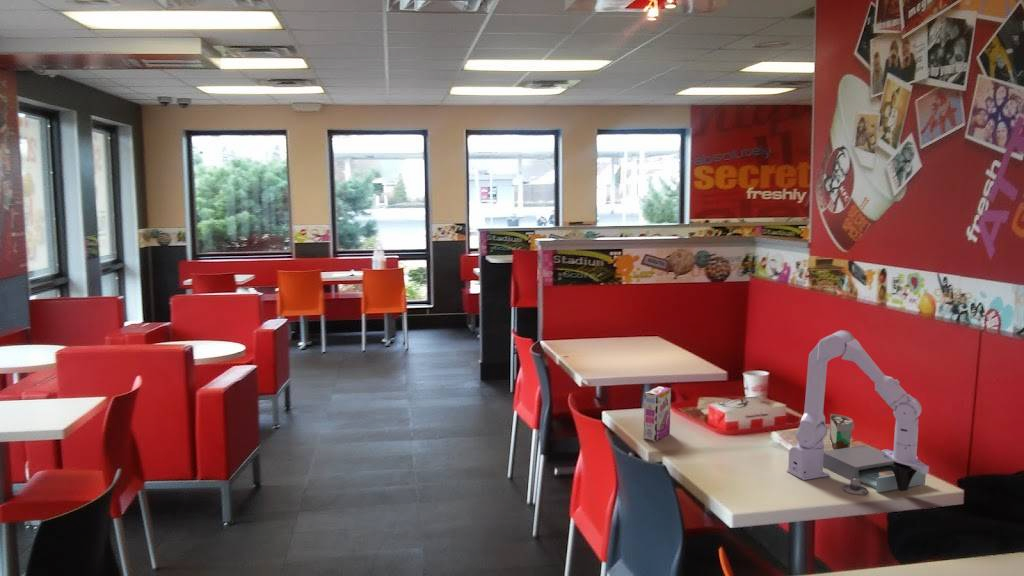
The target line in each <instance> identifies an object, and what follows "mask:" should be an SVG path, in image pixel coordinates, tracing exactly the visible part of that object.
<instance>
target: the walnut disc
mask: <svg viewBox="0 0 1024 576" xmlns="http://www.w3.org/2000/svg"><path fill="white" fill-rule="evenodd" d="M892 474H894V473H893V472H891V471H880V472H879V477H881V476H887V475H892Z"/></svg>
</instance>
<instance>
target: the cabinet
mask: <svg viewBox="0 0 1024 576" xmlns="http://www.w3.org/2000/svg"><path fill="white" fill-rule="evenodd" d="M881 454H882V450H879V449H876V448H874V447H872V446H869V445H867V444H862V445H856V446H850V447H849V448H842V449H836V450H833V449H831V450H826V451H825V450H824V459H823V468H825V469H827V470H829V471H831V472H833V473H836V474H837V475H839V476H842V477H844V478H846V479H848V480H850V481H851V477H858V472H859V471H860V470H865V469H871V468H877V467H883V466H885V467H888V468H890V469H891V467H890V464H893V463H894V461H893V460H891V459H889V458H886V457H885V458H884V457H882V456H881Z"/></svg>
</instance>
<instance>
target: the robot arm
mask: <svg viewBox="0 0 1024 576" xmlns="http://www.w3.org/2000/svg"><path fill="white" fill-rule="evenodd" d="M841 355H842V357H841ZM837 357H841V360H844V361H850V362H853V363H855V364H856V365H857V366H858V368H859V369H860V370H862V372H863V373H864V374H865V375H867V377H869V379H870V380H871V381H872V382H873V383H874V390H875V392H876V393H877V394H878V395H879V396H880V397H881V399H883V400H884V402H885V403H886V404H887V405H888V406H889V407H890V408H891V409H892V410H893V411H892V414H893V416H894V418H895V425H894V437H893V439H894V440H893V450H890V449H882V450H881V451H882V454H881V456H882V457H884V458H885V457H886V458H889V459H891V460H893V461H894V463H893V464H890V467H891V469H892V470H893V473H894V475H895V478H896V482H897V486H898V489H897V490H898V491H901V492H905V491H908V490H909V487H908V486H909V484H910V481H911V479H912V477H913V476H914V474H915V473H916V472H917V471H920V473H922V474H926V475H927V474H930V473H929V472H930V466H929V465H926V463H923V462H922V461H921V460H919V457H918V456H917V451H918V442H919V441H918V437H919V418H918V417H920V415H921V414H922V409H923V408H922V405H921V403H920V402H919V400H918V399H916V398H915V397H913V396H912V395H911V394H908V393H907V392H906V391H905V390H904V388H903V387H902V386H901V385H900V383H901V382H900V381H899V379H894V377H892V376H889V375H885V373H883V371H882V370H881V369H880V367H879V366H878V365H877V364H876V362H875V361H874V360H873V359H872V358H871V357H870V355H869V354H868V353H867V352H866V350H865V349H864V347H862V344H861V343H860V342H859V341H858V340H857V338H854V336H853V334H852V333H851V332H850V331H847V330H843V329H841V330H837V331H835V332H833V333H832V334H830V335H827V336H825V337H823V338H821V339H819V341H818V343H817V344H816V345H815V347H814V348H813V349H812V350H811V351H810V353H808V361H807V373H806V374H807V375H806V385H805V387H806V388H805V401H804V408H803V409H804V411H803V415H802V417H801V419H800V421H799V427H798V428H797V430H796V432H795V438H796V441H797V445H796V444H795V446H792V447H790V449H789V451H788V468H787V469H786V472H787V473H789V474H791V475H794V476H796V477H797V478H799V479H801V480H805V481H806V480H807V481H808V480H812V479H817V478H819V479H820V478H823V477H830V473H828V472H826V471H824V467H823V459H824V451H825V443H824V439H825V438H826V436H827V435H828V427H827V425H826V416H825V414H824V405H825V393H826V383H827V382H826V381H827V380H826V379H827V369H828V362H829V361H830V360H832V359H834V358H837Z"/></svg>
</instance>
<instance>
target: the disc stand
mask: <svg viewBox="0 0 1024 576" xmlns="http://www.w3.org/2000/svg"><path fill="white" fill-rule="evenodd" d="M861 483H862V482H861V479H860V478H858V477H851V480H850V483H848V484H845V485H844V484H843V486H842V491H844V492H845V493H847V492H848V493H847V494H850V493H851V494H850V495H854V494H864V495H867V494H868V493H869V491H868V488H867V487H865V486H863V485H861ZM867 492H868V493H867ZM866 493H867V494H866Z"/></svg>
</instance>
